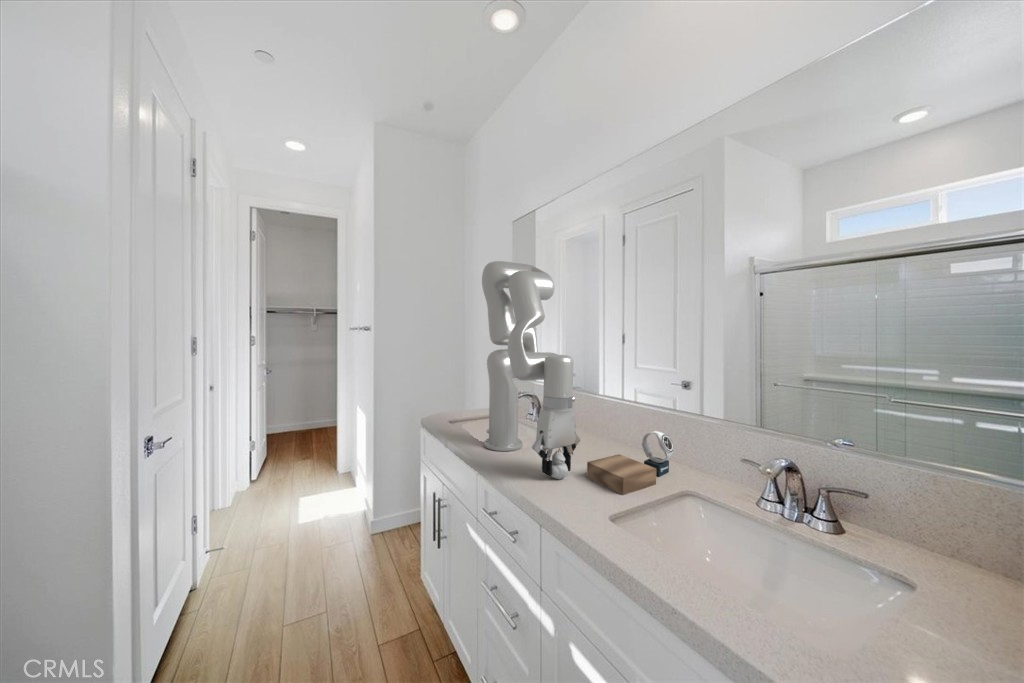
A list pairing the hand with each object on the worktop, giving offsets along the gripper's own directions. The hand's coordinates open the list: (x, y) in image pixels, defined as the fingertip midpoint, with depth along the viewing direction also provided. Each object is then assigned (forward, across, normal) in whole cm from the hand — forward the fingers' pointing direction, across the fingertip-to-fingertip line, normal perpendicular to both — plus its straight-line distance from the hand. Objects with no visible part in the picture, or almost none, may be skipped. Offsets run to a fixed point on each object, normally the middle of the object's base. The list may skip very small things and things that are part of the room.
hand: (556, 471), depth 95 cm
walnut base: (+1, -13, +10) cm, 16 cm away
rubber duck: (+2, 0, 0) cm, 2 cm away
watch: (+2, -26, +11) cm, 28 cm away
